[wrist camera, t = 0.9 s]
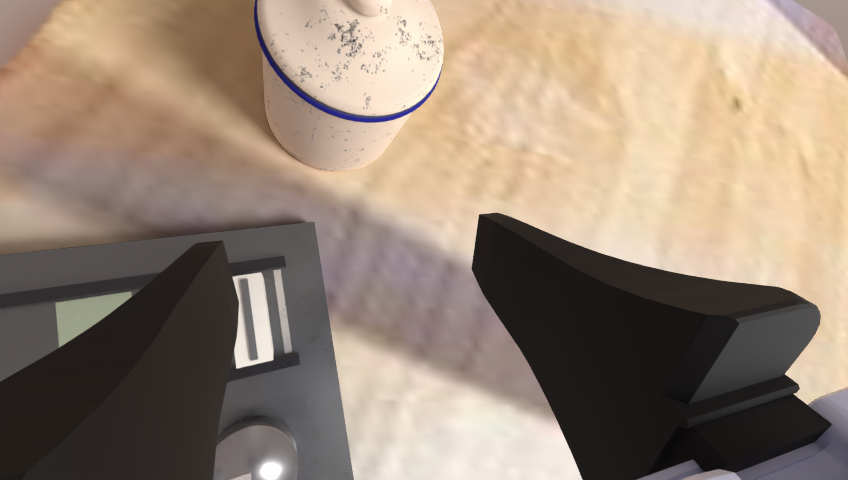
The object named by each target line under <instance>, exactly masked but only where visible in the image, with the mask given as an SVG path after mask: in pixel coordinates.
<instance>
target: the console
mask: <svg viewBox="0 0 848 480" xmlns="http://www.w3.org/2000/svg"><path fill="white" fill-rule="evenodd" d="M220 240H223V242H224V246H225V250H226V254H227V258H228V262H229V265H230V269H231V273H232V277H234V276H240V275H247V274H254V273H260V272H261V273H262V275H263V278H264V283H265V290H266V298H267V305H268V312H269V319H270V327H271V334H272V341H273V348H274V354H273V360H272V361H267V362H263V363H259V364H255V365H250V366H246V367H242V368H237V369H236V361H235V353H233V358H232V363H231V367H230V372H229V377H228V381H227V386H226V391H225V395H224V400H223V405H222V410H221V415H220V421H219V427H218V434H217V444H216V455H215V465H214V476H213V480H354V478H353V472H352V465H351V459H350V452H349V446H348V439H347V433H346V426H345V420H344V413H343V406H342V400H341V393H340V387H339V380H338V374H337V367H336V361H335V354H334V348H333V341H332V335H331V328H330V322H329V315H328V309H327V302H326V296H325V289H324V283H323V276H322V269H321V263H320V256H319V250H318V243H317V237H316V230H315V224H314V222H308V223H298V224H289V225H279V226H270V227H261V228H251V229H242V230H232V231H223V232H214V233H204V234H195V235H185V236H176V237H167V238H157V239H148V240H139V241H129V242H120V243H110V244H101V245H92V246H82V247H73V248H63V249H54V250H45V251H35V252H26V253H17V254H7V255H0V381H2V380H4V379H6V378H7V377H9V376H11V375H13V374H14V373H16V372H18V371H20V370H21V369H23V368H25V367H27V366H28V365H30V364H32V363H34V362H35V361H37V360H39V359H41V358H43V357H44V356H46V355H48V354H50V353H51V352H53V351H54V350H56V349H58V348H59V347H61V346H62V345H64V344H66V343H67V342H69V341H70V340H72V339H73V338H75V337H76V336H78V335H79V334H81V333H83V332H84V331H86V330H87V329H89V328H90V327H91V326H93V325H94V324H96V323H97V322H99V321H100V320H102V319H103V318H104V317H106V316H107V315H109V314H110V313H111V312H112V311H114V310H115V309H116V308H118V307H119V306H120V305H122V304H123V303H124V302H125V301H127V300H128V299H129V298H131V297H132V296H133V295H134V294H136V293H137V292H138V291H140V290H141V289H142V288H143V287H145V286H146V285H147V284H148V283H149V282H151V281H152V280H153V279H154V278H155V277H157V276H158V275H159V274H160V273H161V272H162V271H164V270H165V269H166V268H167V267H168V266H169V265H171V264H172V263H173V262H174V261H175V260H176V259H177V258H179V257H180V256H181V255H182V254H183V253H184V252H185V251H187V250H188V249H189V248H190V247H192V246H193V245H194V244H196V243H200V242H210V241H220Z"/></svg>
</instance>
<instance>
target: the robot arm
mask: <svg viewBox="0 0 848 480" xmlns="http://www.w3.org/2000/svg"><path fill="white" fill-rule="evenodd" d="M472 271H473V273H474V275H475V278H476V280H477V282H478V284H479V286H480V288H481V290H482V292H483V294H484V296H485V297H486V299H487V301H488V302H489V304H490V305H491V307H492V308H493V310H494V311H495V313H496V314H497V316H498V317H499V319H500V320H501V322H502V323H503V325H504V326H505V328H506V329H507V331H508V332H509V334H510V335H511V336H512V338H513V339H514V341H515V342H516V344H517V345H518V347H519V348H520V350H521V352H522V353H523V355H524V356H525V358H526V360H527V361H528V363H529V365H530V367H531V369H532V371H533V373H534V375H535V377H536V379H537V380H538V382H539V384H540V386H541V388H542V390H543V392H544V394H545V396H546V398H547V400H548V402H549V404H550V407H551V409H552V411H553V413H554V415H555V417H556V419H557V421H558V423H559V426H560V428H561V430H562V432H563V435H564V437H565V439H566V441H567V444H568V446H569V448H570V450H571V452H572V455H573V457H574V459H575V462H576V464H577V467H578V469H579V472H580V474H581V477H582V479H583V480H848V387H847V388H844V389H842V390H839V391H836V392H833V393H830V394H827V395H824V396H821V397H819V398H817V399H815V400H814V401H812V402H811V403H809V404H808V405H807V404H805V403H804V402H803V401H801V400H800V399H799V398H797V397H796V396H795V395H794V393H797V391H798V390H799V389H800V388H799V385H798V384H797V383H796V382H794V381H793V380H792V379H790V378H789V377H788V376H786V375H785V373H786V371H787V370H788V369H789V368H790V366H791V365H792V364H793V363H794V361H795V360H796V359H797V358H798V356H799V355H800V354H801V353H802V351H803V350H804V349H805V347H806V346H807V345H808V344H809V342H810V341H811V339H812V338H813V336H814V335H815V333H816V331H817V329H818V327H819V325H820V317H821V316H820V311H819V309H818V307H817V306H816V305H814V304H812V303H811V302H809V301H807V300H805V299H804V298H802V297H800V296H798V295H797V294H795V293H793V292H791V291H788V290H786V289H783V288H779V287H773V286H764V285H755V284H746V283H737V282H728V281H720V280H714V279H707V278H701V277H695V276H689V275H684V274H679V273H674V272H669V271H664V270H660V269H656V268H651V267H647V266H643V265H639V264H635V263H631V262H627V261H624V260H621V259H618V258H614V257H611V256H608V255H604V254H601V253H598V252H595V251H592V250H590V249H587V248H584V247H582V246H579V245H576V244H574V243H571V242H569V241H566V240H564V239H561V238H559V237H556V236H554V235H552V234H549V233H547V232H545V231H542V230H540V229H538V228H535V227H533V226H531V225H528V224H526V223H524V222H521V221H519V220H517V219H514V218H512V217H509V216H506V215H503V214H500V213H490V214H480V215H479V220H478V227H477V234H476V241H475V249H474V256H473V263H472ZM238 314H239V300H238V296H237V292H236V288H235V285H234V281H233V277H232V273H231V269H230V265H229V262H228V258H227V254H226V250H225V246H224V242H223V240H220V241H210V242H200V243H196V244H194V245H193V246H192V247H190V248H189V249H188V250H187V251H185V252H184V253H183V254H182V255H181V256H180V257H179V258H177V259H176V260H175V261H174V262H173V263H172V264H171V265H169V266H168V267H167V268H166V269H165V270H164V271H162V272H161V273H160V274H159V275H158V276H157V277H155V278H154V279H153V280H152V281H151V282H149V283H148V284H147V285H146V286H145V287H143V288H142V289H141V290H140V291H138V292H137V293H136V294H134V295H133V296H132V297H131V298H129V299H128V300H127V301H125V302H124V303H123V304H122V305H120V306H119V307H118V308H116V309H115V310H114V311H112V312H111V313H110V314H109V315H107V316H106V317H104V318H103V319H102V320H100V321H99V322H97V323H96V324H94V325H93V326H91V327H90V328H89V329H87V330H86V331H84V332H83V333H81V334H79V335H78V336H76V337H75V338H73V339H72V340H70V341H69V342H67V343H66V344H64V345H62V346H61V347H59V348H58V349H56V350H54V351H53V352H51V353H50V354H48V355H46V356H44V357H43V358H41V359H39V360H37V361H35V362H34V363H32V364H30V365H28V366H27V367H25V368H23V369H21V370H20V371H18V372H16V373H14V374H13V375H11V376H9V377H7V378H6V379H4V380H2V381H0V480H213V476H214V465H215V455H216V444H217V434H218V427H219V421H220V415H221V410H222V405H223V400H224V395H225V391H226V386H227V381H228V377H229V372H230V367H231V363H232V358H233V353H234V348H235V343H236V338H237V330H238Z"/></svg>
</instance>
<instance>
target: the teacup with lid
mask: <svg viewBox="0 0 848 480" xmlns="http://www.w3.org/2000/svg"><path fill="white" fill-rule="evenodd" d="M254 20H255V28H256V32H257V36H258V40H259V43H260V46H261V48H262V61H263V81H264V100H265V112H266V116H267V120H268V123H269V125H270V128H271V130H272V132H273V134H274V135H275V137H276V138H277V140H278V141H279V143H280V144H281V145H282V146H283V147H284V148H285V149H286V150H287V151H288V152H289V153H290V154H291V155H293V156H294V157H295V158H297V159H298V160H300V161H302V162H303V163H305V164H307V165H309V166H312V167H314V168H317V169H321V170H325V171H331V172H347V171H353V170H357V169H360V168H363V167H365V166H367V165H369V164H370V163H372V162H373V161H375V160H376V159H377V158H378V157H380V156H381V155H382V153H383V152H384V151H385V150H386V148H387V147H388V145H389V144H390V143H391V141H392V140H393V138H394V137H395V136H396V134H397V133H398V131H399V130H400V129H401V127H402V126H403V124H404V123H405V122H406V120H407V119H408V117H409V116H410V115H411V113H412V112H413V111H414V110H416V109H417V108H418V107H420V106H421V105H422V104H423V103H424V102H425V101H426V100H427V99H428V97H429V96H430V95H431V93H432V92H433V90H434V89H435V87H436V84H437V82H438V80H439V77H440V74H441V69H442V63H443V53H444V47H443V37H442V31H441V27H440V23H439V20H438V17H437V15H436V12H435V10H434V8H433V6H432V4H431V2H430V0H255V7H254Z"/></svg>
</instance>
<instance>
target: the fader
mask: <svg viewBox="0 0 848 480" xmlns="http://www.w3.org/2000/svg"><path fill="white" fill-rule="evenodd" d="M233 281H234V285H235V288H236V292H237V296H238V300H239V314H238V330H237V338H236V343H235V348H234V353H235V361H236V369H237V368H242V367H246V366H250V365H255V364H259V363H263V362H267V361H272V360H273V354H274V348H273V341H272V334H271V327H270V319H269V312H268V305H267V298H266V290H265V283H264V278H263V275H262V273H261V272H260V273H254V274H247V275H240V276H234V277H233Z"/></svg>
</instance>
